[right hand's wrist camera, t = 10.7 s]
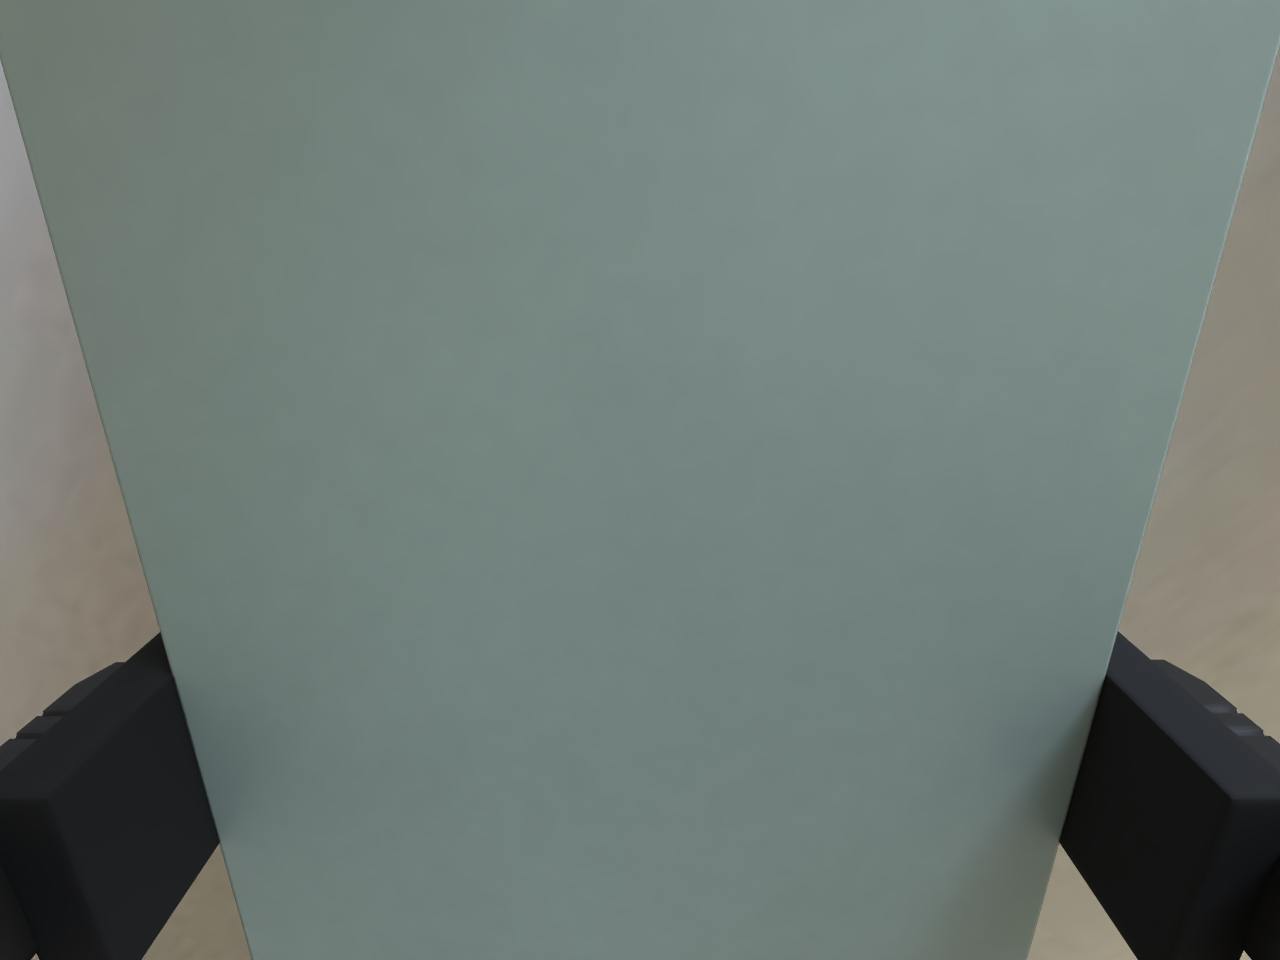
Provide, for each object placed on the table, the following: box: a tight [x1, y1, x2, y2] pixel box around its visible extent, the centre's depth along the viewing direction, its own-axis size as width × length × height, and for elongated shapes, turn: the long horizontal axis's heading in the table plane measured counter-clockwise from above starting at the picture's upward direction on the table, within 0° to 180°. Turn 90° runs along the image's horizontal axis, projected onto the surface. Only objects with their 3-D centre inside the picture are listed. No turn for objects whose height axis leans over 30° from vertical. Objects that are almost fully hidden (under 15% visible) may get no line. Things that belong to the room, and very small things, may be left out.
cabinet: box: [0, 0, 1280, 960], centre depth 13 cm, size 16×11×11 cm
